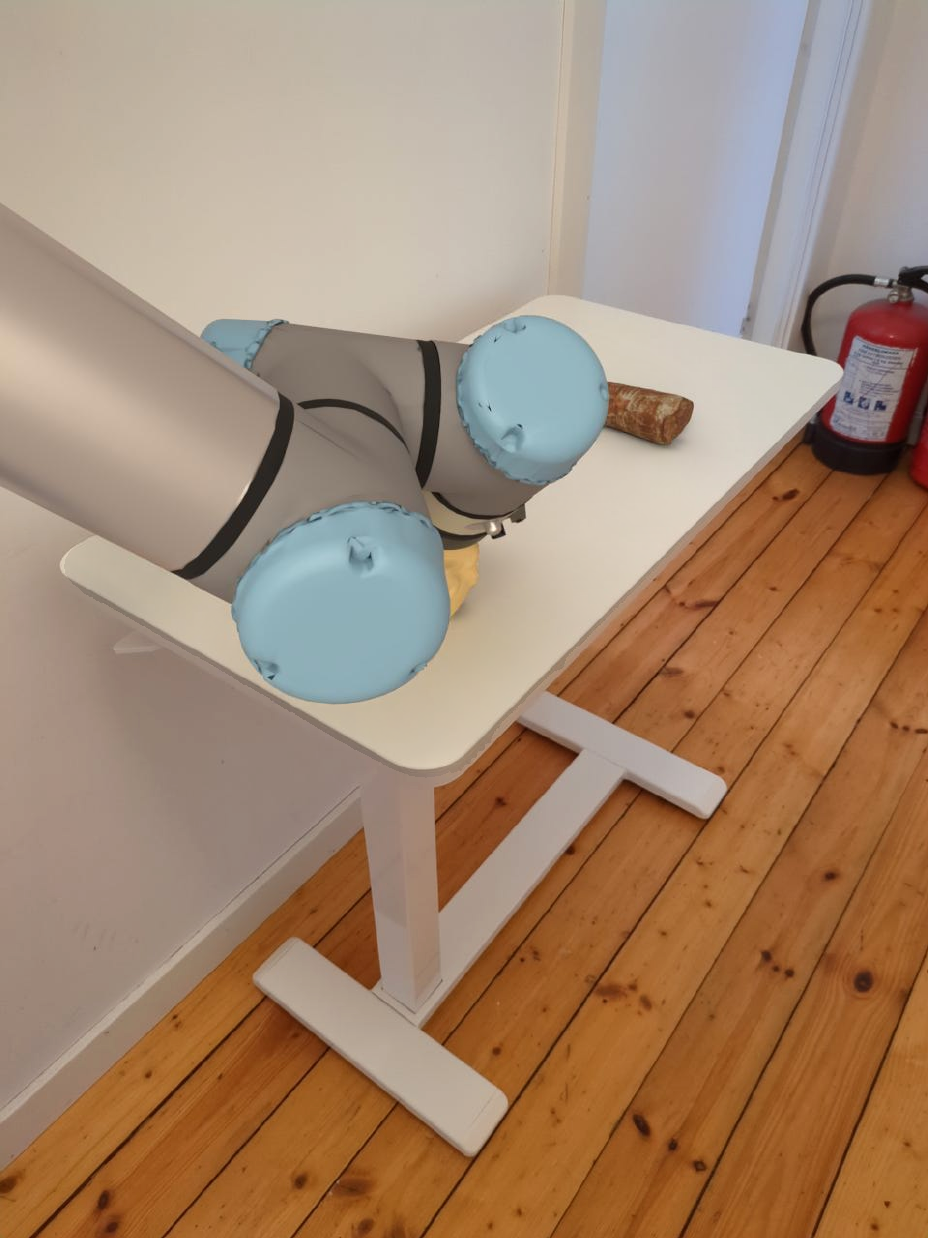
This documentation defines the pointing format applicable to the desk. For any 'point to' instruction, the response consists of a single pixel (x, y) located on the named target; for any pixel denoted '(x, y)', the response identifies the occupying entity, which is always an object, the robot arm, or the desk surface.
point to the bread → (647, 412)
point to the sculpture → (460, 573)
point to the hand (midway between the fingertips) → (392, 554)
